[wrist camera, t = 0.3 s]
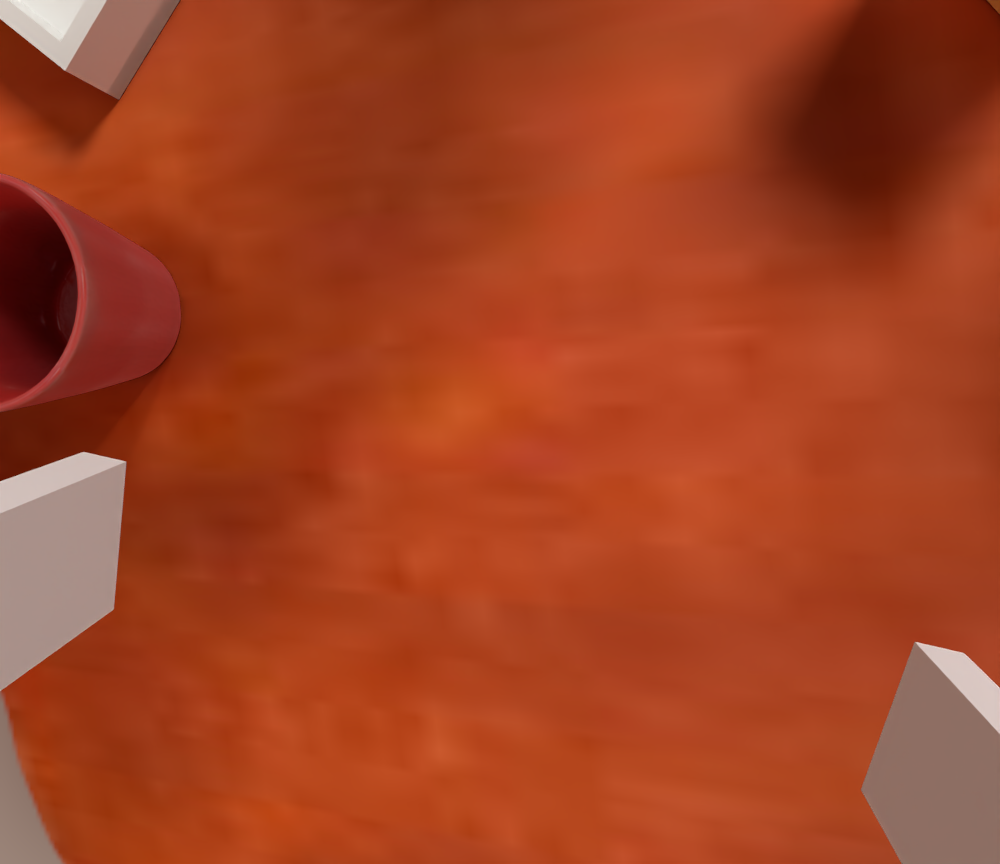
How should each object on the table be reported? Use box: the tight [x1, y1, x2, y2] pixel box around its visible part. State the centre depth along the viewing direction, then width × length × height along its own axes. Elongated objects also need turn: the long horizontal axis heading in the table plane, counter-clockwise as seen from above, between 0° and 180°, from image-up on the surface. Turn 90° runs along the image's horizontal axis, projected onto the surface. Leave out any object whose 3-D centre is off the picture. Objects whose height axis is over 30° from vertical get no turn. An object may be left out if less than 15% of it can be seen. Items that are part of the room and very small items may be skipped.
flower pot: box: [0, 173, 181, 412], centre depth 37 cm, size 11×11×10 cm
